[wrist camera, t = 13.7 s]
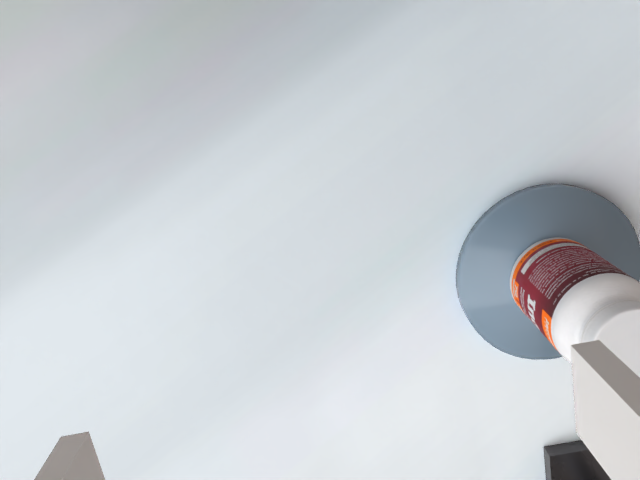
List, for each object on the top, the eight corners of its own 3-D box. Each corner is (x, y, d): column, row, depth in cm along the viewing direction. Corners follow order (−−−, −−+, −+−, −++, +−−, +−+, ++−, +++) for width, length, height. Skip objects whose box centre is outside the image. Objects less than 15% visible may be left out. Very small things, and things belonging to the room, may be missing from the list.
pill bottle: (488, 280, 43) (552, 352, 32) (554, 217, 41) (642, 270, 31) (546, 333, 44) (625, 419, 33) (610, 273, 43) (714, 343, 32)
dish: (446, 201, 42) (450, 205, 41) (630, 168, 42) (640, 172, 41) (465, 365, 46) (469, 373, 45) (634, 335, 46) (642, 342, 44)
